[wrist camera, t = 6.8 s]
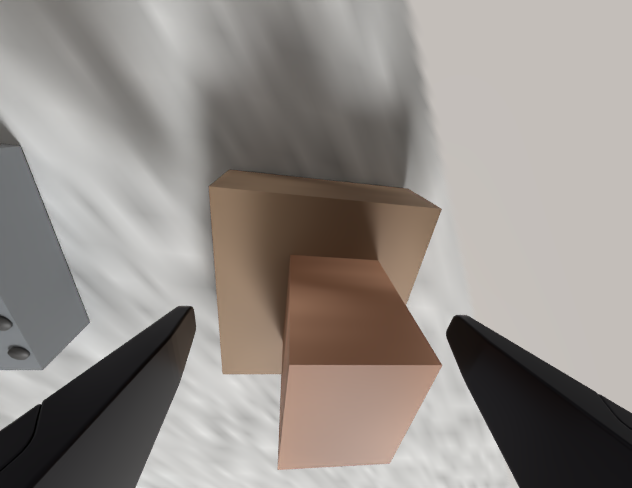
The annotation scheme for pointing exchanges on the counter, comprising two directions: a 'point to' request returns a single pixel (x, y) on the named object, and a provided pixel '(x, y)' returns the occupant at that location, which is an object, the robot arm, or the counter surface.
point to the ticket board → (31, 274)
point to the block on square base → (325, 308)
